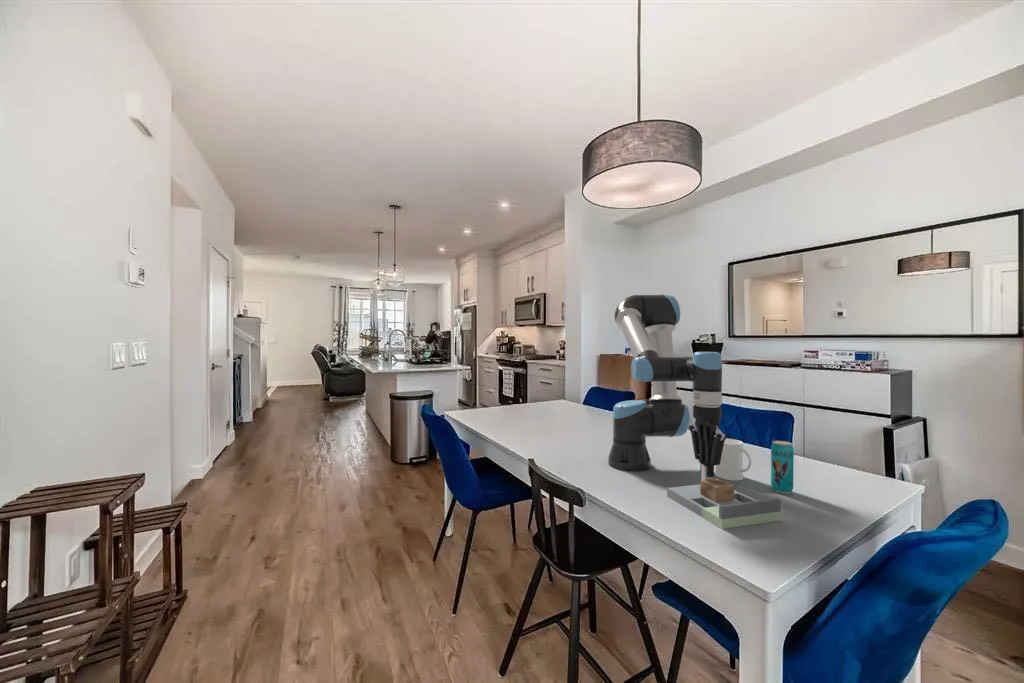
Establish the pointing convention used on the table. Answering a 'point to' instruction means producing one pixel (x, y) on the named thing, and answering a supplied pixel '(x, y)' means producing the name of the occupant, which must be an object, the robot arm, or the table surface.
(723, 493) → the block
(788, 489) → the beverage can
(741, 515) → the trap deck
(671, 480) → the table surface
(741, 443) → the mug
